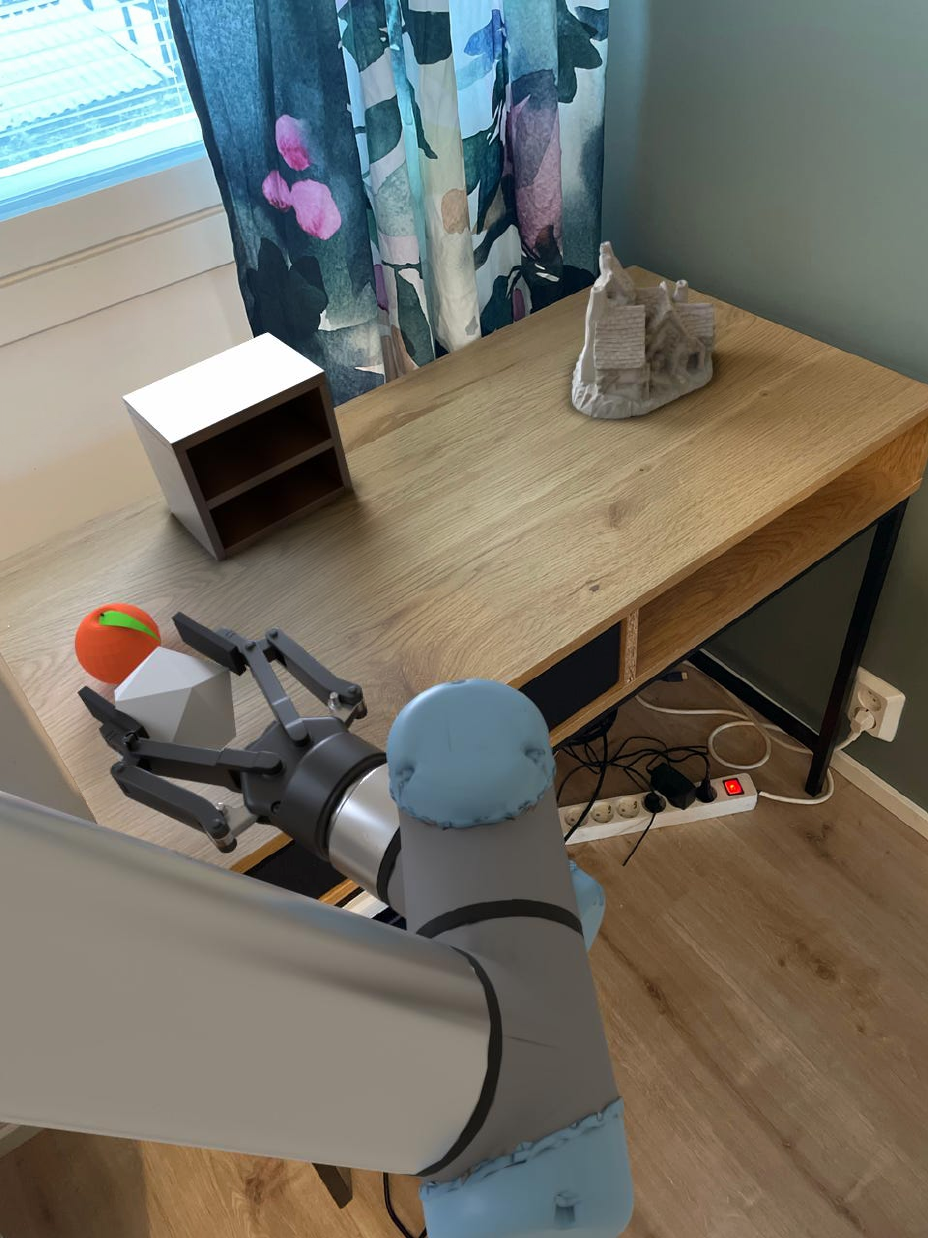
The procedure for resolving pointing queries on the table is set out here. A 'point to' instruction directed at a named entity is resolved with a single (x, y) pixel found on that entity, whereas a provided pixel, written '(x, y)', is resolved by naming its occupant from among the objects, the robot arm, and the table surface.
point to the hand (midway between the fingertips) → (136, 662)
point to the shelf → (242, 443)
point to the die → (180, 700)
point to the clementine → (115, 641)
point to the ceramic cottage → (640, 345)
